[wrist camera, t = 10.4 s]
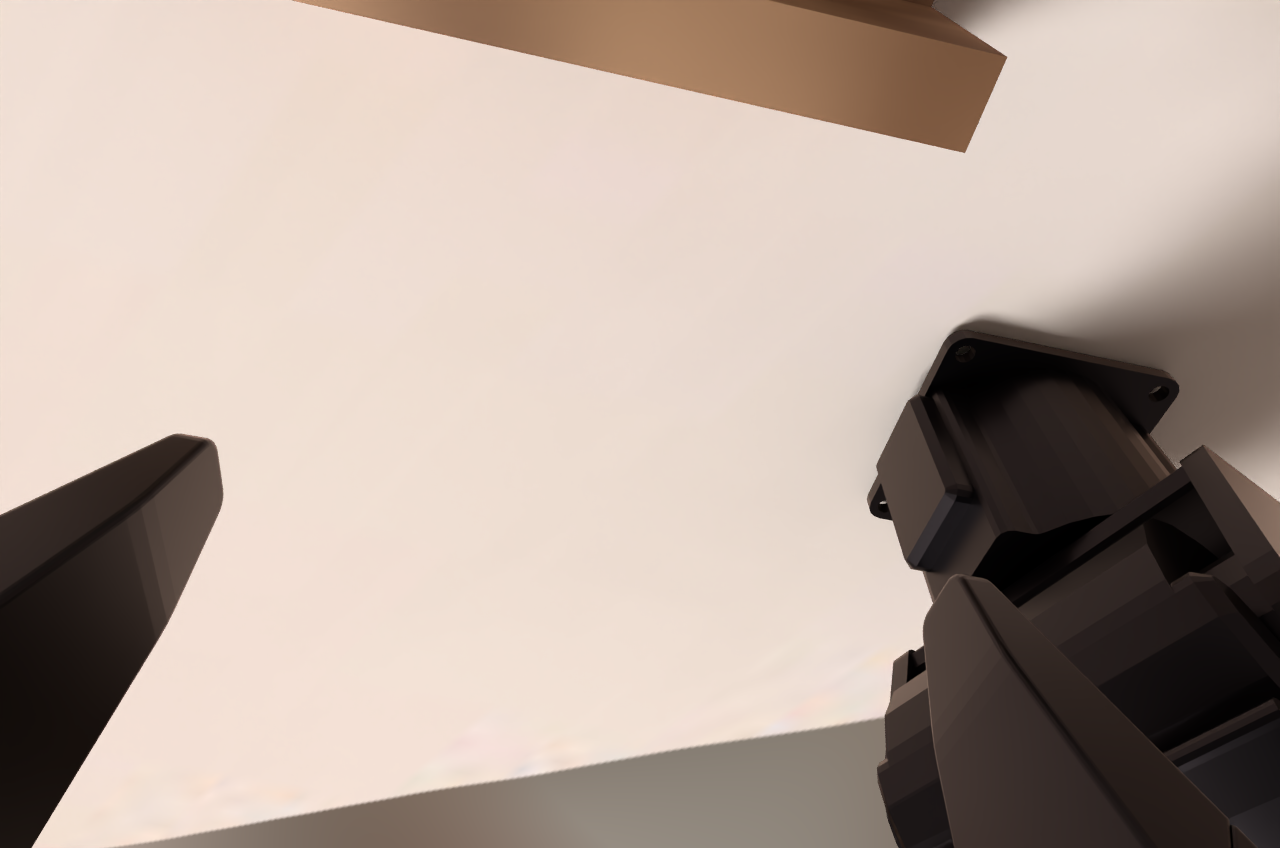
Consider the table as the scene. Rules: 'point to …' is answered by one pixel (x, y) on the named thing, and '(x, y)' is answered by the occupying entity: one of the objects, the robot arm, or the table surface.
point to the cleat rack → (749, 52)
